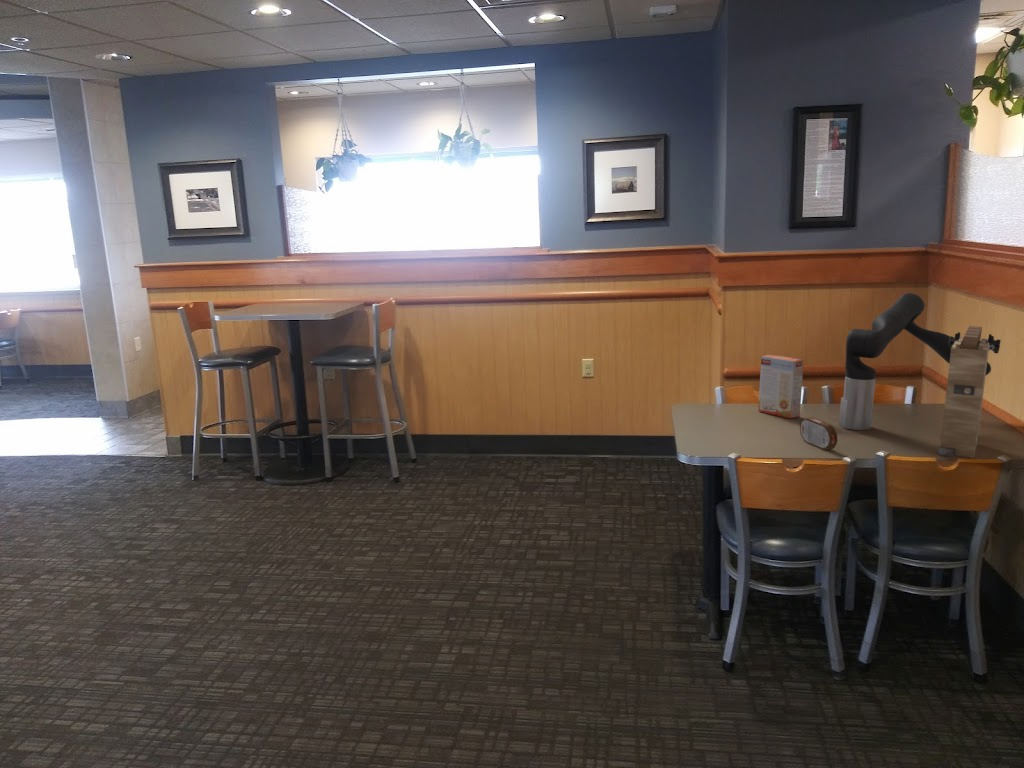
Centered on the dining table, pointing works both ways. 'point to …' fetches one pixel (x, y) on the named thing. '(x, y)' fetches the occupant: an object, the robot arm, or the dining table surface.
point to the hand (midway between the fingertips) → (974, 336)
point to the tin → (818, 433)
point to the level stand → (963, 399)
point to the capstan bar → (972, 337)
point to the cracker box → (780, 386)
